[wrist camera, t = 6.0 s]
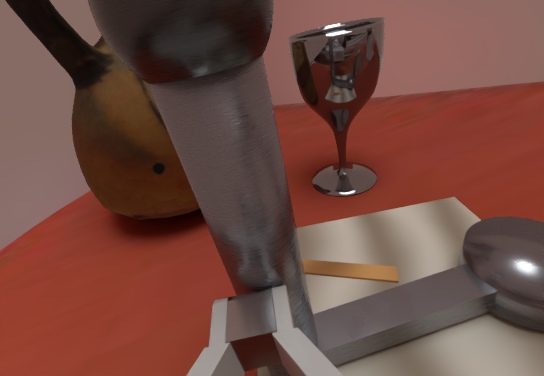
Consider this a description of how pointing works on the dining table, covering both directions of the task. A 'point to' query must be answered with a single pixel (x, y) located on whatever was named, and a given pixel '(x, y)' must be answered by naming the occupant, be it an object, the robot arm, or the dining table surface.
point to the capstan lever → (274, 188)
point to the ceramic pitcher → (113, 123)
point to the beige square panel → (403, 269)
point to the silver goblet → (339, 90)
